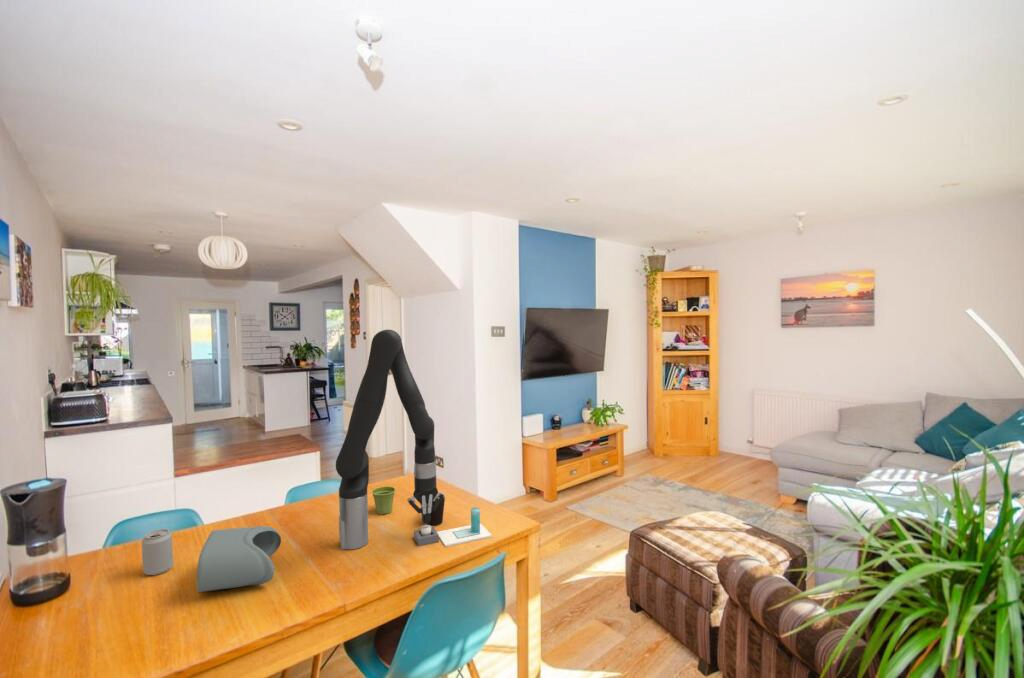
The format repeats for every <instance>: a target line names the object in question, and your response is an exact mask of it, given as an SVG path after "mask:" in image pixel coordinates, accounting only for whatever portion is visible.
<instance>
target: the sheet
mask: <svg viewBox="0 0 1024 678" xmlns="http://www.w3.org/2000/svg"><path fill="white" fill-rule="evenodd" d="M436 532H437V533H438V535H439V541H441V543H442V545H444V546H443V547H445V548H446V547H452V546H457V545H461V544H466V543H469V542H475V541H479V540H484V539H489V538H493V535H492V534H491V533H490V532H489V530H488V529H487V527H485V526H484V524H482V523H481V522H480V532H479V533H472V532H471V524H470V525H469V524H468V525H464V526H460V527H455V528H449V529H444V530H440V531H436Z"/></svg>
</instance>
